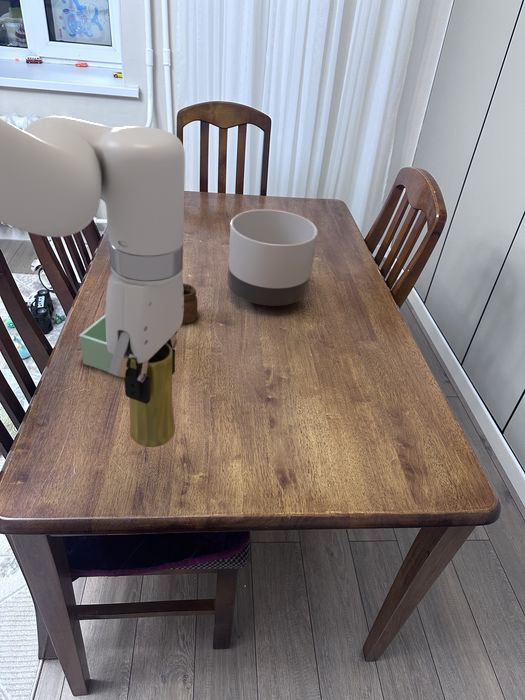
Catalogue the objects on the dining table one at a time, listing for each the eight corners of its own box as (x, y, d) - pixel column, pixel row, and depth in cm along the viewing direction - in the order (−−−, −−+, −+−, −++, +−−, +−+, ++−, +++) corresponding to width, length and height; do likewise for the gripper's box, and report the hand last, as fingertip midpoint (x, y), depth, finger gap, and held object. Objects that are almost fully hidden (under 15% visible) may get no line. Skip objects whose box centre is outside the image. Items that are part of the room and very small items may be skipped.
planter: (321, 307, 115) (335, 238, 105) (250, 324, 107) (257, 251, 96) (280, 270, 128) (288, 205, 118) (213, 282, 120) (216, 213, 109)
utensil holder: (190, 327, 104) (190, 278, 97) (163, 320, 105) (162, 270, 98) (201, 313, 109) (202, 265, 101) (176, 306, 110) (175, 258, 103)
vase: (171, 450, 65) (171, 368, 57) (125, 446, 65) (118, 363, 56) (178, 417, 70) (179, 338, 61) (135, 413, 70) (130, 333, 61)
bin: (83, 363, 92) (78, 335, 88) (116, 334, 100) (113, 307, 96) (132, 380, 89) (130, 352, 85) (162, 349, 97) (161, 322, 93)
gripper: (157, 220, 59) (159, 341, 70) (63, 280, 46) (83, 417, 56) (214, 236, 57) (206, 357, 68) (132, 303, 44) (140, 439, 55)
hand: (151, 383), depth 62 cm, fingers closed on vase, 5 cm apart
